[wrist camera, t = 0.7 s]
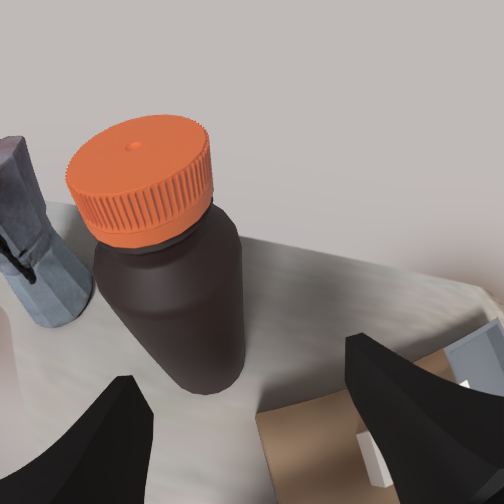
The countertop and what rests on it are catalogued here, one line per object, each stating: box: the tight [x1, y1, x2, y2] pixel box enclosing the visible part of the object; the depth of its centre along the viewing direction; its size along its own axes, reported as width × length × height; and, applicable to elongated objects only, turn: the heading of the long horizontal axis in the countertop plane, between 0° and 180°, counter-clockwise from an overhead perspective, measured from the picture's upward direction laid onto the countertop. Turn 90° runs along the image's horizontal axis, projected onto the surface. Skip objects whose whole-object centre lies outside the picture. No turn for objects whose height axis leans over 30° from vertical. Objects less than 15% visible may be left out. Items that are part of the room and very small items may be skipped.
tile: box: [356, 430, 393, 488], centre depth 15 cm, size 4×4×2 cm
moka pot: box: [0, 136, 92, 328], centre depth 20 cm, size 10×15×20 cm, turn 51°
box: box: [443, 317, 504, 397], centre depth 19 cm, size 13×10×3 cm
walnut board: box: [255, 348, 457, 504], centre depth 17 cm, size 13×17×3 cm
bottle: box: [66, 115, 245, 395], centre depth 16 cm, size 7×7×20 cm
